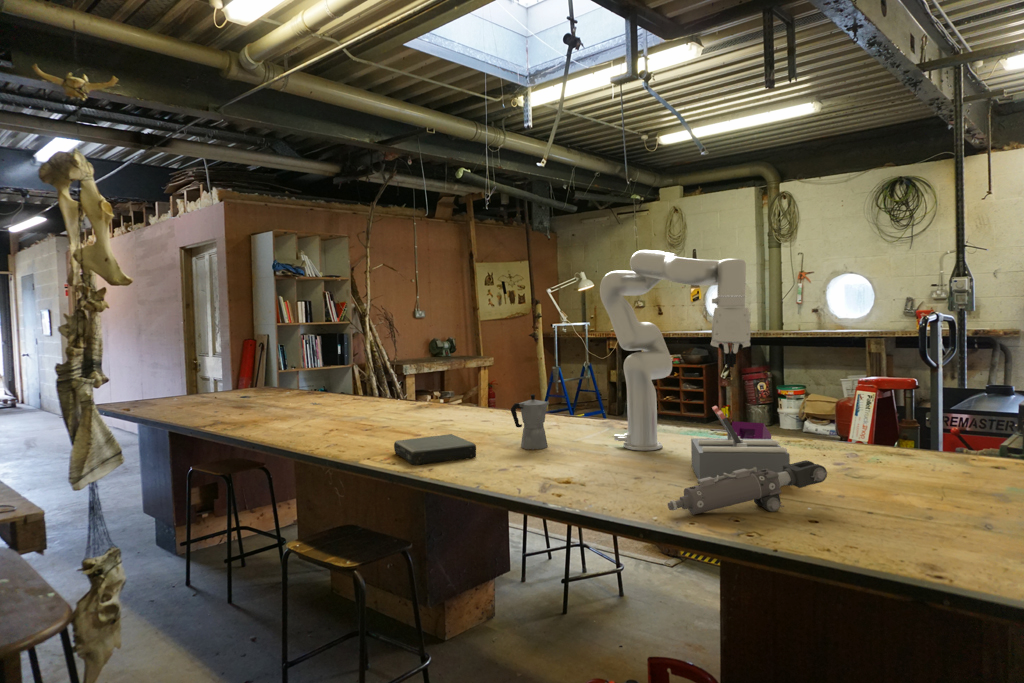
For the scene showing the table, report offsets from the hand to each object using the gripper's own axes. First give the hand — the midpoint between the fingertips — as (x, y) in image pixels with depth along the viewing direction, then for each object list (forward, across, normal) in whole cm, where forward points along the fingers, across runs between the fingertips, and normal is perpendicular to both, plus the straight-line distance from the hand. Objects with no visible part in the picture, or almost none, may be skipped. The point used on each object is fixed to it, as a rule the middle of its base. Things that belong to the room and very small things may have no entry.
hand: (729, 366), depth 179 cm
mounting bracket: (+29, +11, +24) cm, 39 cm away
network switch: (+32, -90, +6) cm, 96 cm away
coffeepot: (+31, -61, +20) cm, 71 cm away
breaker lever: (+19, +1, -15) cm, 24 cm away
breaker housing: (+28, +1, -11) cm, 30 cm away
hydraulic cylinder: (+28, -2, -42) cm, 50 cm away
